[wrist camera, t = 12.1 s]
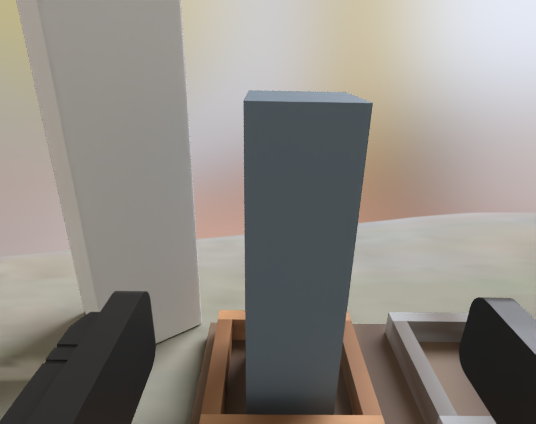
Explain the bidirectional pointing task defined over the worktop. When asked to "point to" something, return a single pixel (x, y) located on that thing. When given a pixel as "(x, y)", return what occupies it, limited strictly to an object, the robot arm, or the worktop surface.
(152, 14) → the milk
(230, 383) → the socket board
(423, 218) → the worktop surface
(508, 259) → the worktop surface
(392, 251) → the worktop surface
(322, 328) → the post
